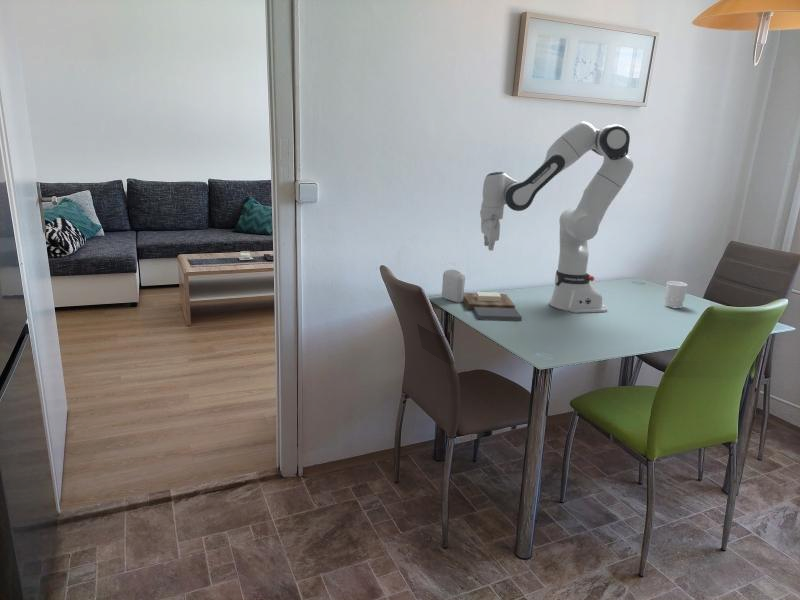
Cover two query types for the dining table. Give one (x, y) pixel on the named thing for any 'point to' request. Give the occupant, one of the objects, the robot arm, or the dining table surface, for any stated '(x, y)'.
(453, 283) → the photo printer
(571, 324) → the dining table surface
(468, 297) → the walnut deck
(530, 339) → the dining table surface
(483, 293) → the cream card
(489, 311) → the charcoal mat
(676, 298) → the white cup
